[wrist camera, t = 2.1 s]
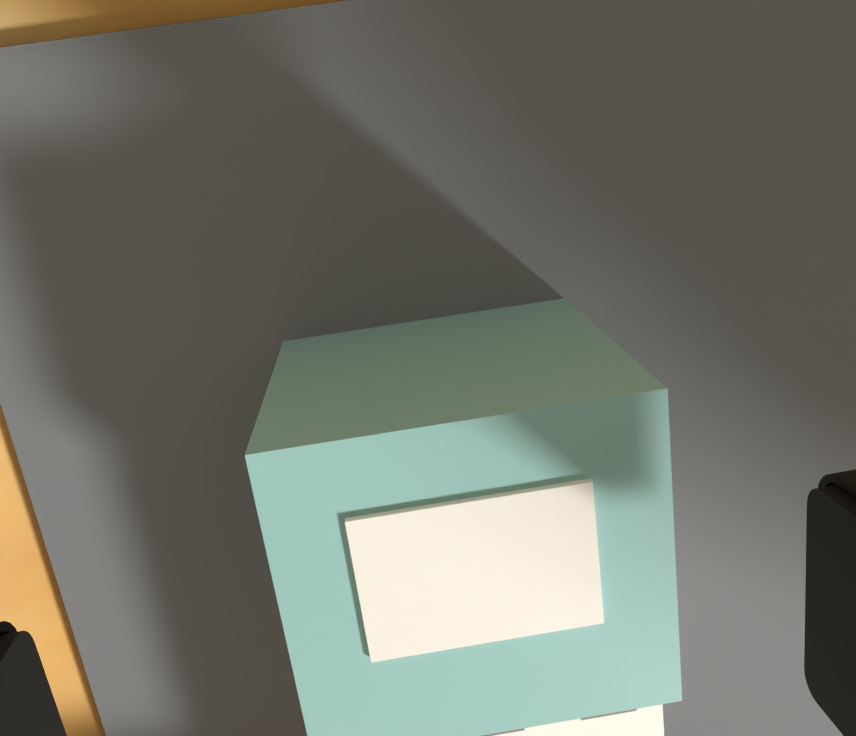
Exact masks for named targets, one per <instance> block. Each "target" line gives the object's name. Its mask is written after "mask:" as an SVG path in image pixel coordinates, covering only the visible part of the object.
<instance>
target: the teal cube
mask: <svg viewBox="0 0 856 736" xmlns="http://www.w3.org/2000/svg"><path fill="white" fill-rule="evenodd" d="M245 459H246V464H247V468H248V473H249V477H250V482H251V486H252V491H253V495H254V500H255V504H256V509H257V513H258V517H259V522H260V526H261V531H262V535H263V540H264V544H265V549H266V553H267V558H268V562H269V567H270V571H271V576H272V580H273V585H274V589H275V593H276V598H277V602H278V607H279V611H280V616H281V620H282V625H283V629H284V634H285V638H286V643H287V647H288V652H289V656H290V661H291V665H292V669H293V674H294V678H295V683H296V687H297V692H298V696H299V701H300V705H301V710H302V714H303V719H304V723H305V728H306V732H307V736H482V735H488V734H494V733H499V732H505V731H511V730H517V729H522V728H528V727H534V726H540V725H546V724H551V723H557V722H563V721H569V720H574V719H580V718H586V717H592V716H597V715H603V714H609V713H615V712H621V711H626V710H632V709H638V708H644V707H649V706H655V705H661V704H667V703H673V702H678V701H682V685H681V663H680V642H679V621H678V599H677V578H676V556H675V535H674V514H673V492H672V471H671V450H670V428H669V407H668V388H667V387H666V386H664V385H663V384H662V383H661V382H660V381H659V380H657V379H656V378H655V377H654V376H653V375H652V374H651V373H649V372H648V371H647V370H646V369H645V368H644V367H643V366H641V365H640V364H639V363H638V362H637V361H636V360H634V359H633V358H632V357H631V356H630V355H629V354H628V353H626V352H625V351H624V350H623V349H622V348H621V347H619V346H618V345H617V344H616V343H615V342H614V341H613V340H611V339H610V338H609V337H608V336H607V335H606V334H605V333H603V332H602V331H601V330H600V329H599V328H598V327H596V326H595V325H594V324H593V323H592V322H591V321H590V320H588V319H587V318H586V317H585V316H584V315H583V314H582V313H580V312H579V311H578V310H577V309H576V308H575V307H573V306H572V305H571V304H570V303H569V302H568V301H567V300H565V299H564V298H563V299H556V300H550V301H543V302H536V303H530V304H523V305H517V306H510V307H504V308H497V309H491V310H484V311H477V312H471V313H464V314H458V315H451V316H445V317H438V318H432V319H425V320H418V321H412V322H405V323H399V324H392V325H386V326H379V327H373V328H366V329H360V330H353V331H346V332H340V333H333V334H327V335H320V336H314V337H307V338H301V339H294V340H287V341H283V343H282V346H281V349H280V352H279V355H278V358H277V361H276V364H275V367H274V369H273V372H272V375H271V378H270V381H269V384H268V387H267V390H266V393H265V396H264V399H263V402H262V405H261V408H260V411H259V414H258V417H257V420H256V423H255V426H254V429H253V432H252V435H251V437H250V440H249V443H248V446H247V449H246V452H245Z"/></svg>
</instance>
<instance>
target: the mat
mask: <svg viewBox="0 0 856 736" xmlns="http://www.w3.org/2000/svg"><path fill="white" fill-rule="evenodd" d="M563 298H564V299H565V300H567V301H568V302H569V303H570V304H571V305H572V306H573V307H575V308H576V309H577V310H578V311H579V312H580V313H582V314H583V315H584V316H585V317H586V318H587V319H588V320H590V321H591V322H592V323H593V324H594V325H595V326H596V327H598V328H599V329H600V330H601V331H602V332H603V333H605V334H606V335H607V336H608V337H609V338H610V339H611V340H613V341H614V342H615V343H616V344H617V345H618V346H619V347H621V348H622V349H623V350H624V351H625V352H626V353H628V354H629V355H630V356H631V357H632V358H633V359H634V360H636V361H637V362H638V363H639V364H640V365H641V366H643V367H644V368H645V369H646V370H647V371H648V372H649V373H651V374H652V375H653V376H654V377H655V378H656V379H657V380H659V381H660V382H661V383H662V384H663V385H664V386H666V387H667V388H668V407H669V428H670V450H671V471H672V492H673V514H674V535H675V556H676V578H677V599H678V621H679V642H680V663H681V685H682V701H678V702H673V703H667V704H663V721H664V736H843V735H842V733H841V732H840V731H839V730H838V728H837V727H836V726H835V725H834V724H833V722H832V721H831V720H830V719H829V717H828V716H827V715H826V714H825V713H824V711H823V710H822V709H821V708H820V707H819V705H818V704H817V703H816V701H815V700H814V698H813V697H812V695H811V693H810V691H809V688H808V685H807V683H806V678H805V672H804V648H805V587H806V526H807V498H808V495H809V492H810V491H811V490H813V489H816V488H818V484H819V482H820V480H821V478H822V477H823V476H825V475H826V474H832V473H837V472H843V471H849V470H854V469H856V0H345V1H337V2H330V3H323V4H316V5H308V6H301V7H294V8H286V9H279V10H272V11H264V12H257V13H250V14H242V15H235V16H228V17H220V18H213V19H206V20H198V21H191V22H184V23H176V24H169V25H162V26H154V27H147V28H140V29H132V30H125V31H118V32H110V33H103V34H96V35H89V36H81V37H74V38H67V39H59V40H52V41H45V42H37V43H30V44H23V45H15V46H8V47H1V48H0V405H1V408H2V411H3V414H4V417H5V420H6V424H7V427H8V430H9V433H10V436H11V439H12V442H13V446H14V449H15V452H16V455H17V458H18V461H19V464H20V468H21V471H22V474H23V477H24V480H25V483H26V486H27V490H28V493H29V496H30V499H31V502H32V505H33V508H34V512H35V515H36V518H37V521H38V524H39V527H40V530H41V534H42V537H43V540H44V543H45V546H46V549H47V552H48V555H49V559H50V562H51V565H52V568H53V571H54V574H55V577H56V581H57V584H58V587H59V590H60V593H61V596H62V599H63V603H64V606H65V609H66V612H67V615H68V618H69V621H70V625H71V628H72V631H73V634H74V637H75V640H76V643H77V647H78V650H79V653H80V656H81V659H82V662H83V665H84V669H85V672H86V675H87V678H88V681H89V684H90V687H91V691H92V694H93V697H94V700H95V703H96V706H97V709H98V713H99V716H100V719H101V722H102V725H103V728H104V731H105V735H106V736H307V732H306V728H305V723H304V719H303V714H302V710H301V705H300V701H299V696H298V692H297V687H296V683H295V678H294V674H293V669H292V665H291V661H290V656H289V652H288V647H287V643H286V638H285V634H284V629H283V625H282V620H281V616H280V611H279V607H278V602H277V598H276V593H275V589H274V585H273V580H272V576H271V571H270V567H269V562H268V558H267V553H266V549H265V544H264V540H263V535H262V531H261V526H260V522H259V517H258V513H257V509H256V504H255V500H254V495H253V491H252V486H251V482H250V477H249V473H248V468H247V464H246V459H245V452H246V449H247V446H248V443H249V440H250V437H251V435H252V432H253V429H254V426H255V423H256V420H257V417H258V414H259V411H260V408H261V405H262V402H263V399H264V396H265V393H266V390H267V387H268V384H269V381H270V378H271V375H272V372H273V369H274V367H275V364H276V361H277V358H278V355H279V352H280V349H281V346H282V343H283V341H287V340H294V339H301V338H307V337H314V336H320V335H327V334H333V333H340V332H346V331H353V330H360V329H366V328H373V327H379V326H386V325H392V324H399V323H405V322H412V321H418V320H425V319H432V318H438V317H445V316H451V315H458V314H464V313H471V312H477V311H484V310H491V309H497V308H504V307H510V306H517V305H523V304H530V303H536V302H543V301H550V300H556V299H563Z"/></svg>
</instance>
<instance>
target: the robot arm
mask: <svg viewBox="0 0 856 736" xmlns="http://www.w3.org/2000/svg"><path fill="white" fill-rule="evenodd" d="M804 672H805V678H806V683H807V685H808V688H809V691H810V693H811V695H812V697H813V698H814V700H815V701H816V703H817V704H818V705H819V707H820V708H821V709H822V710H823V711H824V713H825V714H826V715H827V716H828V717H829V719H830V720H831V721H832V722H833V724H834V725H835V726H836V727H837V728H838V730H839V731H840V732H841V733H842V735H843V736H856V469H854V470H849V471H843V472H837V473H832V474H826V475H825V476H823V477H822V478H821V480H820V482H819V484H818V488H816V489H813V490H811V491H810V492H809V495H808V498H807V526H806V587H805V648H804ZM0 736H67V735H66V733H65V730H64V727H63V724H62V721H61V718H60V715H59V712H58V709H57V706H56V703H55V701H54V698H53V695H52V692H51V689H50V686H49V683H48V680H47V677H46V674H45V672H44V669H43V666H42V663H41V660H40V657H39V654H38V651H37V648H36V645H35V643H34V640H33V638H32V636H31V635H30V634H29V633H28V632H26V631H20V632H17V631H16V628H15V627H14V626H13V625H12V624H11V623H9V622H6V621H3V622H0Z"/></svg>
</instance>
